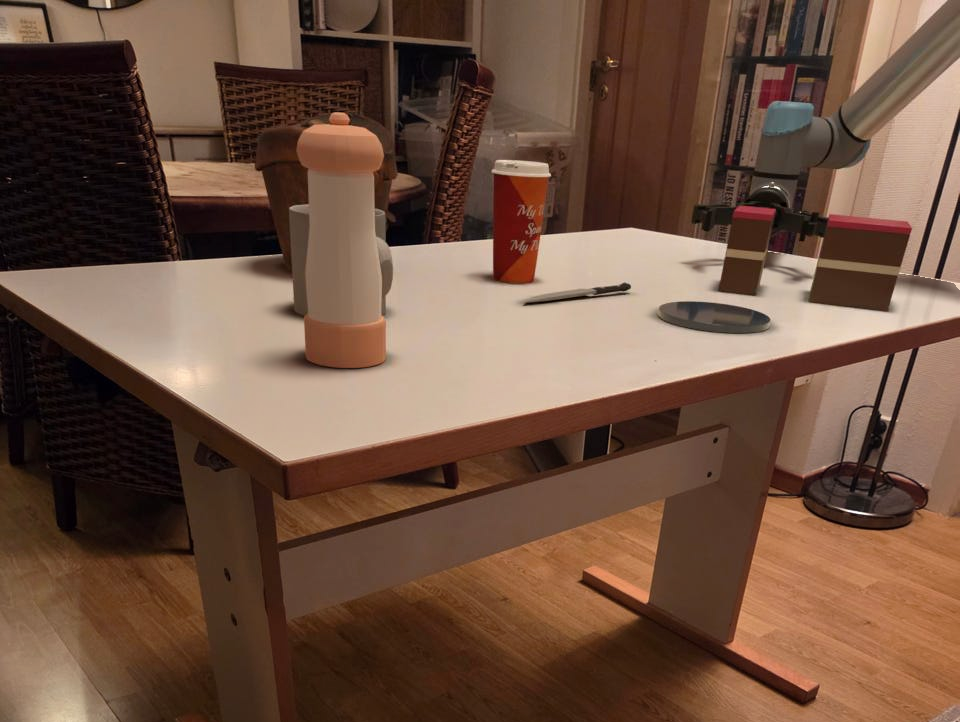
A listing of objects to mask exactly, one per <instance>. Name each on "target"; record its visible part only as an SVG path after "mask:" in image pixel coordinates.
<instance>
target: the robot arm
mask: <svg viewBox="0 0 960 722" xmlns="http://www.w3.org/2000/svg"><path fill="white" fill-rule="evenodd" d="M959 59H960V0H946V1H945V2H944V3H943V4H942V5H941V6H940V7H939V8H938V9H937V10H936V11H935V12H934V13H933V14H932V15H931V16H930V17H929V18H928V19H927V20H926V21H925V22H924V23H923V24H922V25H921V26H920V27H919V28H918V29H916V30H915V32H914V33H913V34H912V35H911V36H910V37H909V38H907V40H906V41H905V42H903V44H901V46H900V47H898V49H897V50H896V51H895V52H894V53H893V54H892V55H891V56H890V57H889V58H888V59H887V60H886V61H884V62H883V63H882V65H881V66H880V67H879V68H878V69H877V70H876V71H874V72H873V73H872V74H871V76H869V78H868V79H867V80H865V82H864V83H863V84H862V85H860V87H858V88H857V89H856V90H855V92H854V93H852V95H850V97H848V99H846V101H845V102H844V103H842V105H841V106H839V107H838V108H837V109H836V110H835V111H834V112H833V113H832V114H831V115H830V116H828V117H821V116H814V112H815V107H814V105H813V103H811V102H800V101H785V100H783V101H782V100H774V101H772V102H771V103H770V104H769V105H768V106H767V109H766V110H767V111H766V114H765V116H764V119H763V125H762V127H761V129H760V133H761V135H760V139H759V144H758V149H757V155H756V160H755V165H754V170H753V175H752V179H751V183H750V187H749V192H748V197H746V199H745V200H744V201H743V202H738V203H737V204H736V205H735V206H731V203H728V202H727V201H723V202H720V203H709V204H708V203H707V204H699V203H696V204H694V205H693V209H692V214H691V221H690V223H691V224H693V225H697V224H701V226H700V227H701V228H700V230H701V231H703V232H708V233H709V232H710V231H711V230H713V228H714V227H715V226H731V223H732V218H733V213H734V210H735V209H737V208H738V207H739V206H749V207H760V208H770V209H776V212H775V217H774V222H773V226H772V231H771V235H770V239H772V238H773V237H775V236H777V235H778V234H779V233H786V232H790V233H795V234H799V238H798V242H803V243H804V242H805V239H806V237H809V238H811V237H814V236H817V237H819V238H821V239H823V238H824V233H825V229H826V225H827V221H828V217H829V216H828V217H826V216H822V215H820V211H812V212H810V211H808V210H807V209H803V210H801V211H797V213H796V212H792V210H793V207H794V200H795V195H796V190H797V186H798V182H799V178H800V173H801V169H802V168H812V169H815V168H816V169H830V170H841V169H848V168H852V167H855V166H856V165H859V163H861V161H863V160H864V158H865V157H866V154H867V152H868V150H869V149H870V148H871V147H870V146H871V142H872V138H873V137H874V136H875V135H876V134H877V133H879V132H880V131H881V130H882V129H883V128H884V127H885V126H886V125H888V123H890V122H891V121H892V120H893V119H894V118H895V117H896V116H898V115H899V114H900V113H901V111H903V110H904V109H905V108H906V107H908V105H909V104H910V103H912V102H913V101H914V100H915V99H916V98H918V97H919V96H920V95H921V94H922V93H923V92H924V91H925V90H926V89H927V88H928V87H929V86H931V85H932V83H934V82H935V81H936V80H937V79H938V78H939V77H940V76H941V75H942V74H944V72H946V71H947V70H948V69H949V68H950V67H951V66H952V65H953V64H954V63H956V62H957V61H958V60H959Z"/></svg>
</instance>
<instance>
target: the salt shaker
mask: <svg viewBox="0 0 960 722" xmlns="http://www.w3.org/2000/svg"><path fill="white" fill-rule="evenodd" d="M331 113H332V114H331V116H330V118H329V120H330V122H331V124H323V125H313V126H311V127H310V128H308V129H306V130H304V131H303V132H302V134H301V136H300V138H299V140H298V144H297V150H296V151H297V154H298V157H299V160H300V162H301V164H302V166H304V167H306V168H308V169H309V170H308V194H309V220H310V229H309V240H308V250H307V261H306V271H305V278H306V291H307V304H308V313H307V314H306V315H305V316H303V328H304V347H305V359H306V360H307V361H308V362H311V363H312V364H316V365H317V366H324V367H329V368H337V369H338V368H339V369H359V368H369V367H373V366H377V365H380V364H382V363H384V362H385V361H386V359H387V325H386V324H387V322H386V319H385V316H384V315H383V316H382V315H381V303H382V274H381V268H380V261H379V254H378V247H377V241H376V234H375V202H374V175H373V172H374V171H376V170H378V169H380V167H381V165H382V161H383V158H384V153H383V149H382V145H381V143H380V141H379V140H378V138H377V136H376V135H375V134H373V133H372V132H370V131H368V130H367V129H365V128H363V127H356V126H350V125H348V123H349V121H350V119H349V117H348V115H346V114H345V113H346V112H342V113H339V112H338V111H337V112H335V111H334V112H331Z"/></svg>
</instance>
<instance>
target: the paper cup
mask: <svg viewBox="0 0 960 722" xmlns="http://www.w3.org/2000/svg"><path fill="white" fill-rule="evenodd" d="M490 172H491V173H492V174H493V196H492V197H493V201H492V202H493V206H492V208H493V209H492V213H493V214H492V276H493V280H495V281H498V282H502V283H509V284H531V283H533V282H534V281H535V276H536V269H537V263H538V255H539V251H540V250H539V249H540V242H541V236H542V235H541V234H542V227H543V221H544V213H545V205H546V197H547V191H548V183H549V178H550V177H552V174H551V173H550V168H549V164H548V163H547V162H546V163H545V162H541V161H530V160H515V159H497V160H495V161H494V167H493V169H491V171H490Z"/></svg>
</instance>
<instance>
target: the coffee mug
mask: <svg viewBox="0 0 960 722" xmlns="http://www.w3.org/2000/svg"><path fill="white" fill-rule="evenodd" d="M289 221H290V239H291V257H292V271H291V273H292V290H293V291H292V292H293V306H294V307H293V308H294V312H295V313H296V314H298V315H301V316H303V317H304V316H305V315H306V314H307V313H308V304H307V291H306V278H305V271H306V261H307V250H308V240H309V229H310V220H309V204H305V205H296V206H292V207H290V208H289ZM375 234H376V241H377V247H378V254H379V261H380V268H381V274H382V303H381V315H382V316H383V317H384V316H385V314H386V312H387V310H386V305H387V303H386V301H387V300H386V299H387V298H386V296H388V294H389V293H390V291H391V288H392V285H393V279H394V263H393V262H394V261H393V255H392V250H391V249H390V246H389V244H388V243H387V242H386V240H387V239H386V238H387V235H386V234H387V231H386V216H385V212H384V211H382V210H379V209H375Z"/></svg>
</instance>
